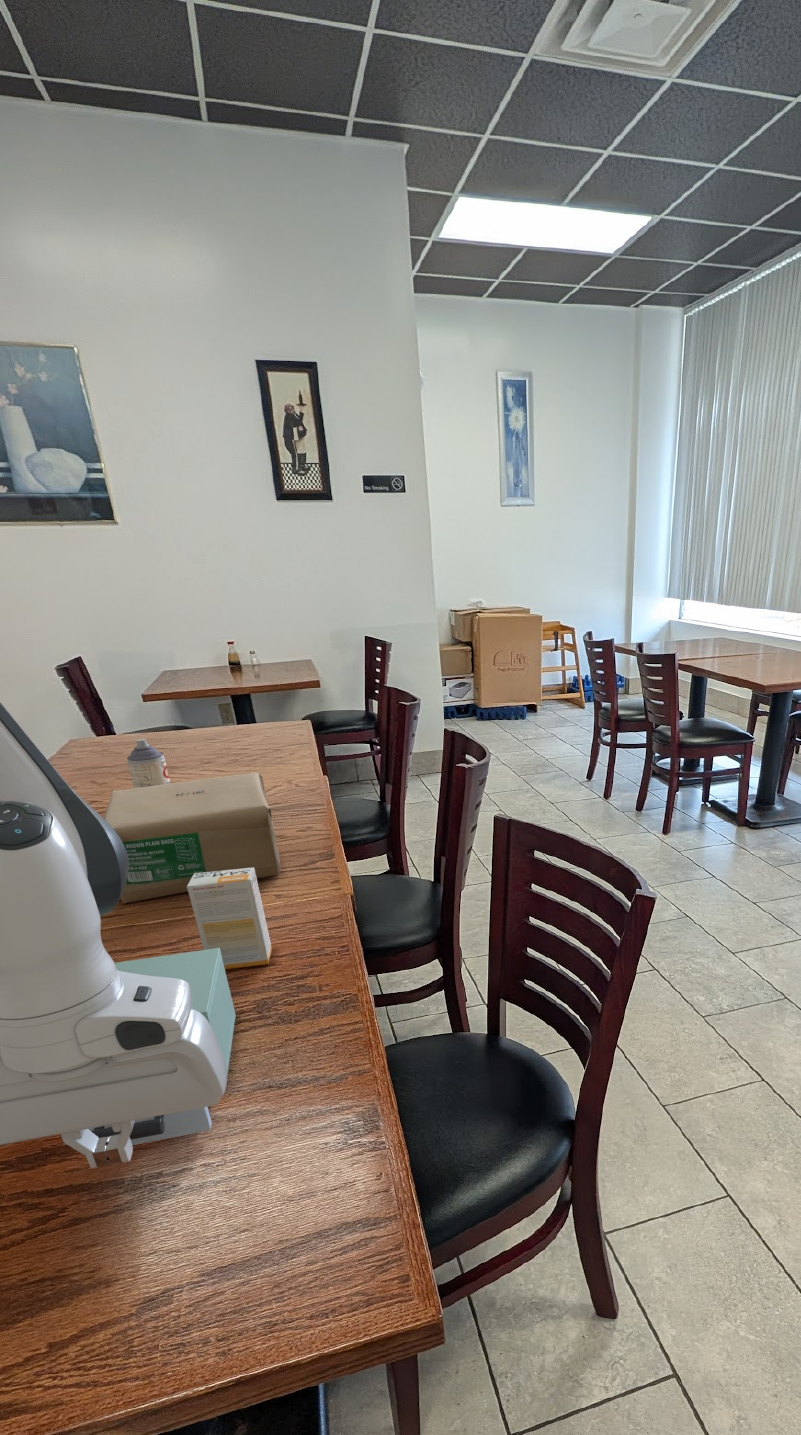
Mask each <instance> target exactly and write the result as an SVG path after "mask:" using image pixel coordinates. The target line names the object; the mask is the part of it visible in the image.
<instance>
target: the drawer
mask: <svg viewBox="0 0 801 1435" xmlns="http://www.w3.org/2000/svg"><path fill="white" fill-rule="evenodd" d="M212 1121H213V1120H212V1117H211V1114H210V1111H209V1107H203V1108H198V1109H192V1110H187V1111H181V1112H176V1113H171V1114H165V1115H160V1116H154V1117H149V1118H144V1119H138V1120H135V1122H134V1126H133V1129H132V1132H131V1134H130V1140H131V1143H132V1146H136V1145H140V1144H147V1143H151V1142H156V1141H162V1140H168V1139H171V1138H172V1139H173V1138H178V1137H184V1136H189V1135H193V1134H199V1133H203V1132H209V1131H212V1124H213V1122H212ZM89 1130H90V1131H91V1132H92V1133H94V1134H95V1135H96V1136H97V1137H99V1138H102V1137H108V1136H113V1135H118V1134H120V1132H121V1131H119V1132H114V1131H113V1129H112V1126H111V1125H106V1126H101V1127H95V1128H90V1129H89Z"/></svg>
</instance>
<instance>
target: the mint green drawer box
mask: <svg viewBox="0 0 801 1435" xmlns="http://www.w3.org/2000/svg"><path fill="white" fill-rule="evenodd" d="M114 963H115V966H116V968H117V971H122V972H127V973H133V974H140V975H148V976H156V977H166V978H176V979H181V980H184V981H186V982H187V983H188V984H189V986H190V988H191V993H192V1006H191V1009H194V1010H196V1011H198V1012H200V1013H201V1014H202V1015H203V1016H204V1017H205V1018H206V1019H207V1020H208V1022H209V1024H210V1025H211V1027H212V1029H213V1032H214V1034H215V1036H216V1038H217V1041H218V1043H219V1046H220V1048H221V1051H222V1054H223V1057H224V1060H225V1064H226V1068H227V1076H228V1074H229V1069H230V1068H229V1066H230V1059H231V1053H232V1044H233V1038H234V1030H235V1022H236V1016H237V1015H236V1011H235V1006H234V1002H233V998H232V994H231V989H230V986H229V981H228V976H227V972H226V969H225V968H224V964H223V960H222V955H221V951H220V948H214V949H207V950H204V949H201V950H194V951H188V952H181V953H180V952H179V953H173V954H165V955H159V956H152V957H147V958H146V957H145V958H144V957H143V958H138V959H131V960H130V959H129V960H124V961H117V962H114Z"/></svg>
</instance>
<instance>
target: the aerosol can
mask: <svg viewBox="0 0 801 1435" xmlns="http://www.w3.org/2000/svg"><path fill="white" fill-rule="evenodd" d="M135 741H136V745H135V746H134V748H133V749H132V750H131V751H130V755H128V756H126V759H127V767H128V771H129V774H130V778H131V782H132V785H133V789H134V788H141V787H148V786H156V785H163V784H171V779H170V775H169V771H168V768H167V767H168V766H167V762H166V758H165V756H164V755H163V752H162V751H158V749H157V748H155V747H152V745H150V744H149V743H148V742H147V739H146V738H139V739H138V738H137V739H136V740H135Z"/></svg>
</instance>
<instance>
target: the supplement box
mask: <svg viewBox="0 0 801 1435" xmlns="http://www.w3.org/2000/svg"><path fill="white" fill-rule="evenodd" d="M187 889H188V896H189V899H190V902H191V907H192V911H193V915H194V919H195V922H196V926H197V931H198V933H199V938H200V941H201V945H202V950H207V949H214V948H220V951H221V955H222V960H223V964H224V968H225V970H231V969H238V968H247V967H255V966H265V965H269V963H270V960H271V959H270V958H271V954H272V950H273V948H272V943H271V938H270V934H269V929H268V924H267V921H266V916H265V915H266V914H265V911H264V906H263V902H262V897H261V892H260V888H259V883H258V879H257V878H256V874H255V869H254V868H243V869H234V870H225V871H214V872H204V873H195V874H194V875H193V876H192V878H191V880H190V882H189V884H188V886H187Z"/></svg>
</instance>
